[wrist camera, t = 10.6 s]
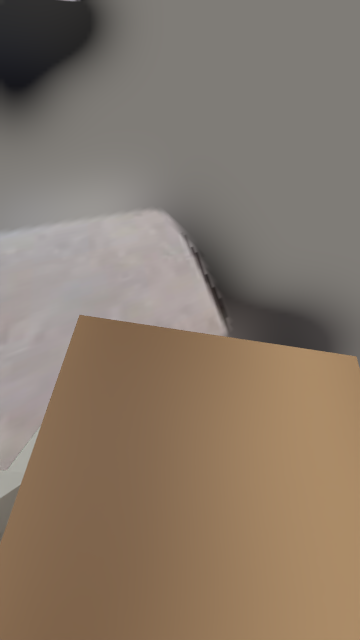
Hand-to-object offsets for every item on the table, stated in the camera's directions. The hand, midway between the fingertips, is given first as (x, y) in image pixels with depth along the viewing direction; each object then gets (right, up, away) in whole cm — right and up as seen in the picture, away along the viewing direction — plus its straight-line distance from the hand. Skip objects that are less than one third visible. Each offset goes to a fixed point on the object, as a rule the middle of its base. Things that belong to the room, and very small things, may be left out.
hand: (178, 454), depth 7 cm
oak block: (-1, -3, +4) cm, 5 cm away
